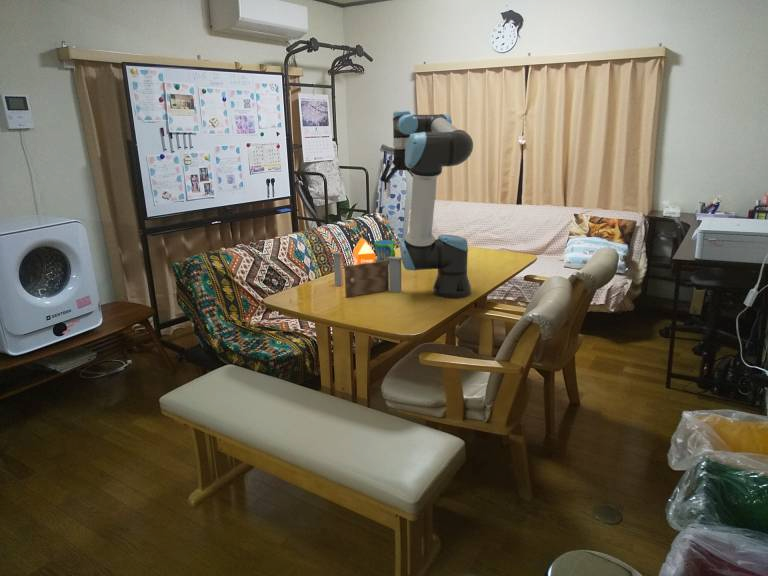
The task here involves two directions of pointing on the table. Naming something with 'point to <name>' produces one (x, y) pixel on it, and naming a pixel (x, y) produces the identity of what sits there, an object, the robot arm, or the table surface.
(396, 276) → the grey rectangular posts
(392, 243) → the snack cup
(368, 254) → the orange juice
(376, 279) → the gate
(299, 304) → the table surface
